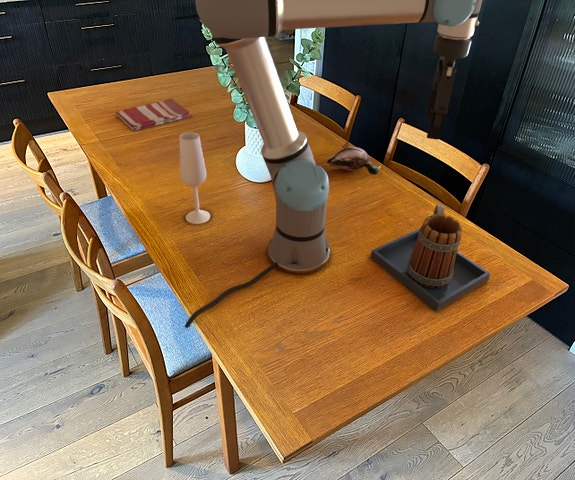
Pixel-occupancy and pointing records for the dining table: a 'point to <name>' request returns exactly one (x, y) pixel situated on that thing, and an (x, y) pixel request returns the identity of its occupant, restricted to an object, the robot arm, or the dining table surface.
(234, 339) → the dining table surface
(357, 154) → the decorative duck model
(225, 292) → the robot arm
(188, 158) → the champagne flute
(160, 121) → the dish towel
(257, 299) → the dining table surface
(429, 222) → the mug
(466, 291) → the tray
